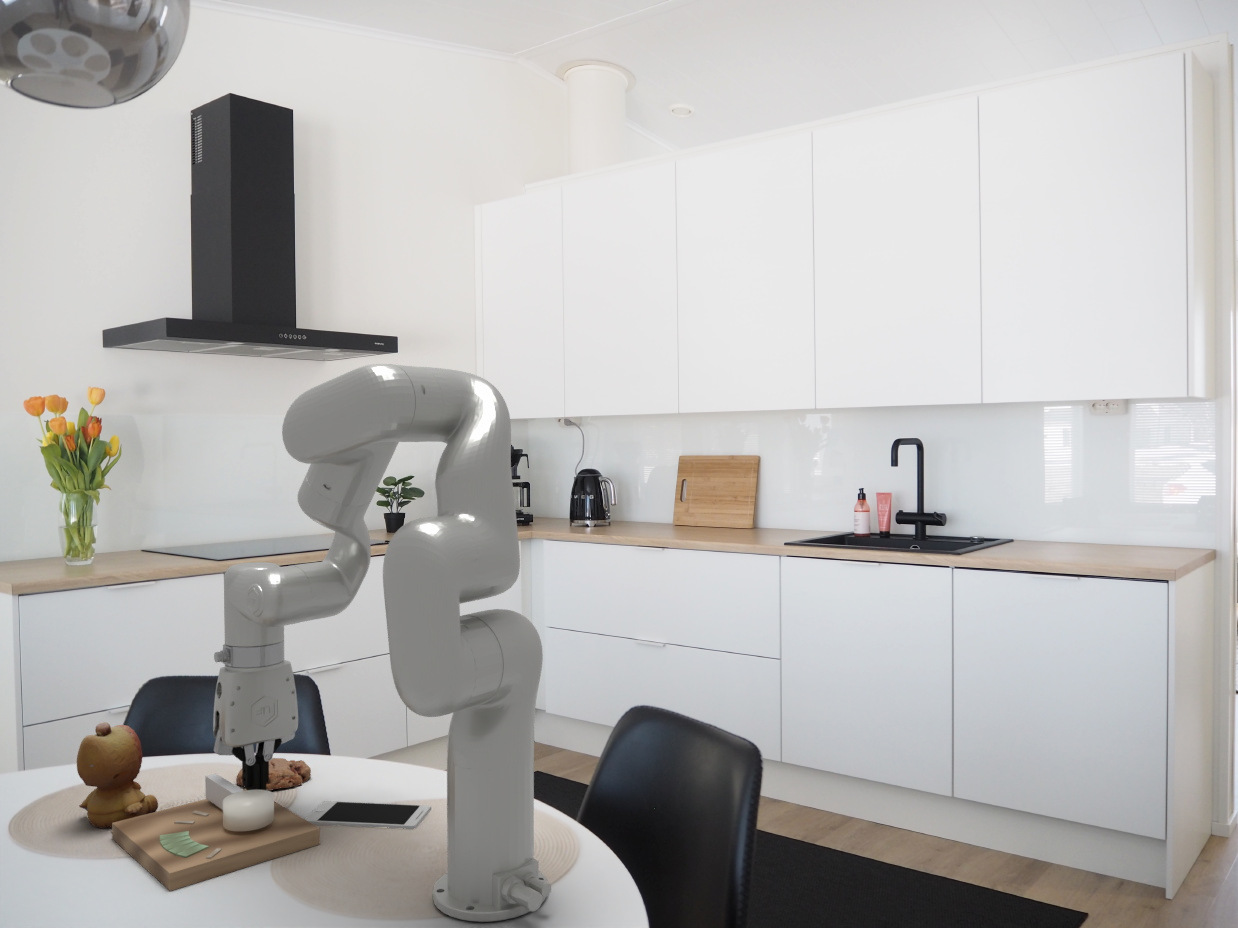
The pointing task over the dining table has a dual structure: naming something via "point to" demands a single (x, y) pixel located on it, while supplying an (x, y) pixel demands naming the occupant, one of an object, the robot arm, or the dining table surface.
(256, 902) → the dining table surface
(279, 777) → the cookie
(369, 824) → the smartphone
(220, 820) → the tuner board
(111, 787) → the figurine
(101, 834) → the dining table surface
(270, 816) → the peg dial
